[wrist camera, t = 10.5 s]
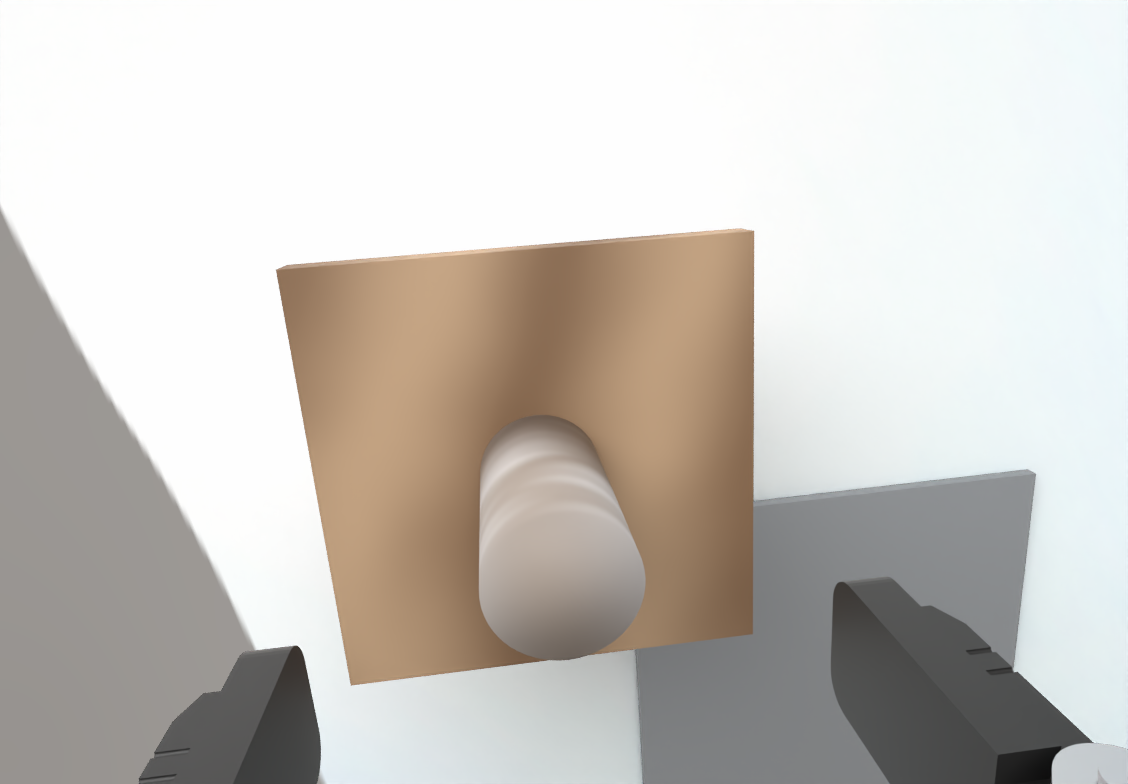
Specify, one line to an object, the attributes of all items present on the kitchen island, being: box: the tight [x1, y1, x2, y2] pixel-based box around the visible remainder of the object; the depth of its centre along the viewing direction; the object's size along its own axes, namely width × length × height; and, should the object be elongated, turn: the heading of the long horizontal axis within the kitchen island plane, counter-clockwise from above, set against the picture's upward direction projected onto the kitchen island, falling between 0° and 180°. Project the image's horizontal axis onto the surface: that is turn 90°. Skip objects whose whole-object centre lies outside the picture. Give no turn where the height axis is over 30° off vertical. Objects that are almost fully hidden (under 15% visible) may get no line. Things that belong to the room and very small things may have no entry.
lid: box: [276, 229, 754, 685], centre depth 16 cm, size 11×11×6 cm
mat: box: [636, 470, 1036, 784], centre depth 34 cm, size 18×18×1 cm
